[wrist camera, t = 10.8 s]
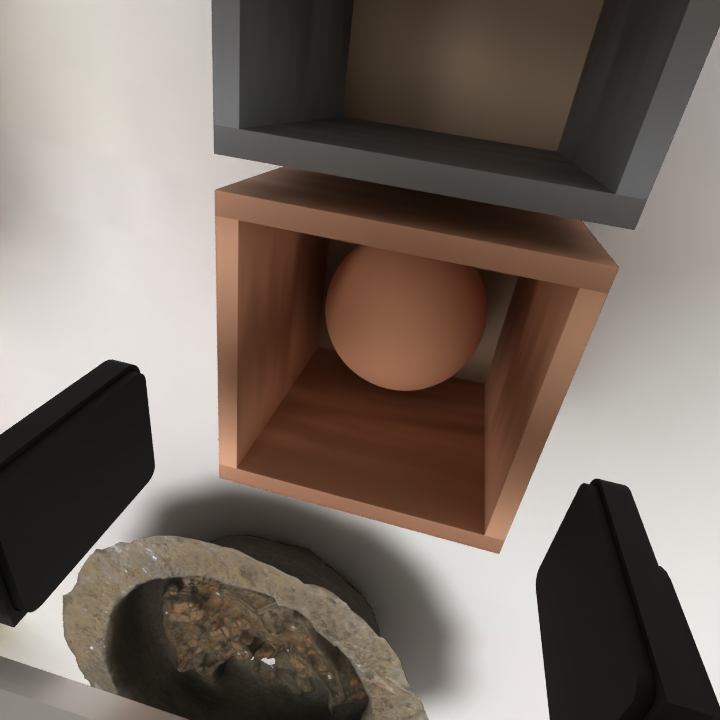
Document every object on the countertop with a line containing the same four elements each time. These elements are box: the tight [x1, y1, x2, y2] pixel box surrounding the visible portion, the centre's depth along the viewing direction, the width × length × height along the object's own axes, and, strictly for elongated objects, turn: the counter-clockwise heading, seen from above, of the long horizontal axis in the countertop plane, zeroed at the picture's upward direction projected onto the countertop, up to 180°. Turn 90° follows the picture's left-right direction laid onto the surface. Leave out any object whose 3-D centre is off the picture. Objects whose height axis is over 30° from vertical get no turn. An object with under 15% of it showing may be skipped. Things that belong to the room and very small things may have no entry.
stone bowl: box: [63, 535, 428, 720], centre depth 33 cm, size 25×25×9 cm
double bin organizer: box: [212, 0, 720, 554], centre depth 15 cm, size 21×11×10 cm, turn 172°
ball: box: [325, 244, 487, 391], centre depth 18 cm, size 6×6×6 cm
